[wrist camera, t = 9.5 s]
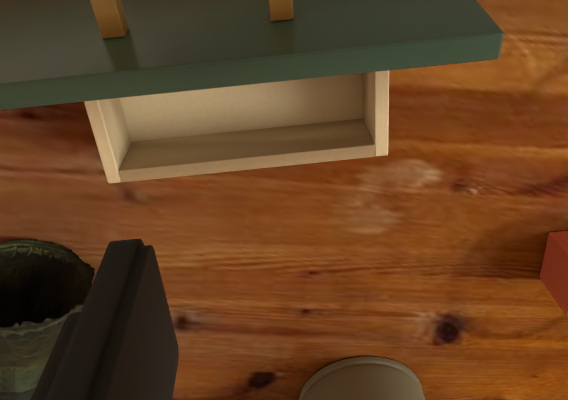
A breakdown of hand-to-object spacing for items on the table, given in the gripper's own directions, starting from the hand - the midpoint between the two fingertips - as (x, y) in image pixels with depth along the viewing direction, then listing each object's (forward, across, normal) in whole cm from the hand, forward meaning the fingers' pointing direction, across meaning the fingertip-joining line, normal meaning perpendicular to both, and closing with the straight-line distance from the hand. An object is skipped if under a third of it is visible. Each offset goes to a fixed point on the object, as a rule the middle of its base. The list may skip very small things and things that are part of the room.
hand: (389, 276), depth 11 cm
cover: (+13, +4, -3) cm, 14 cm away
